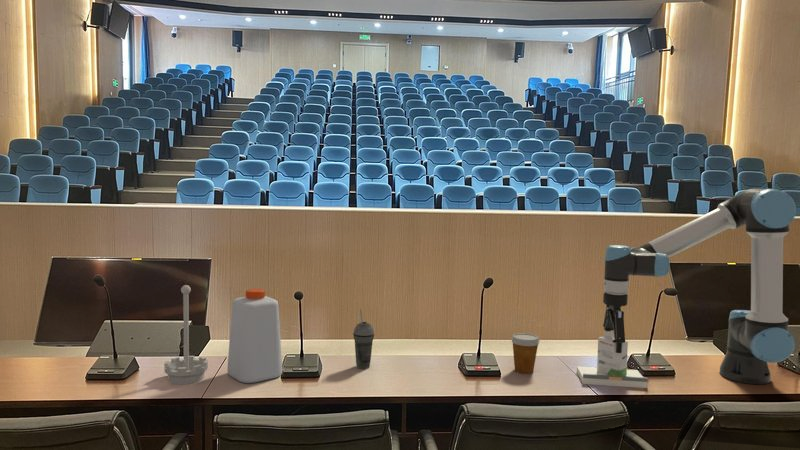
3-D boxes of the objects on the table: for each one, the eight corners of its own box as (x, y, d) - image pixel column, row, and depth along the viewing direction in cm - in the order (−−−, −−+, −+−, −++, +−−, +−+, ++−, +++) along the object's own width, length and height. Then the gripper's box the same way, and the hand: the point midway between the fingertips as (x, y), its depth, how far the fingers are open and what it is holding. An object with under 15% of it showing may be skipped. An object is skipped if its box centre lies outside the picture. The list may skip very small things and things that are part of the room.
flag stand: (212, 381, 188) (212, 287, 186) (168, 388, 182) (167, 290, 179) (202, 369, 199) (202, 280, 197) (161, 375, 193) (160, 283, 190)
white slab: (637, 375, 204) (637, 366, 204) (647, 388, 192) (647, 378, 192) (576, 372, 206) (577, 362, 206) (583, 384, 194) (583, 374, 194)
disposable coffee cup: (542, 369, 208) (543, 335, 207) (532, 377, 200) (534, 341, 199) (516, 364, 213) (517, 331, 212) (505, 371, 205) (507, 337, 204)
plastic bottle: (222, 373, 196) (222, 288, 193) (264, 364, 206) (265, 284, 203) (244, 386, 184) (244, 297, 182) (287, 376, 194) (288, 291, 192)
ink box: (627, 376, 197) (629, 340, 196) (618, 378, 194) (620, 343, 193) (604, 368, 204) (606, 334, 203) (595, 371, 201) (597, 336, 200)
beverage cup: (373, 370, 202) (374, 312, 201) (351, 370, 202) (352, 311, 201) (374, 363, 210) (375, 307, 208) (353, 363, 210) (354, 306, 208)
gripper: (596, 285, 209) (593, 344, 211) (612, 299, 185) (609, 367, 186) (618, 286, 208) (615, 345, 210) (637, 300, 184) (634, 368, 186)
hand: (612, 355), depth 198 cm, fingers open, 13 cm apart
